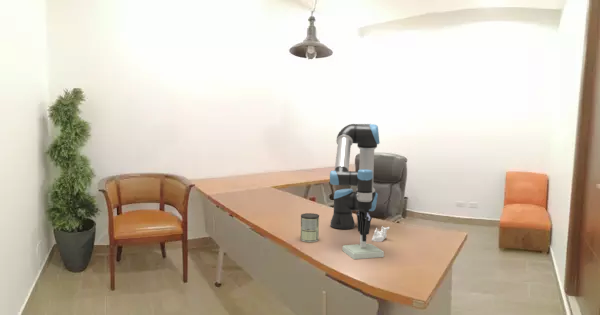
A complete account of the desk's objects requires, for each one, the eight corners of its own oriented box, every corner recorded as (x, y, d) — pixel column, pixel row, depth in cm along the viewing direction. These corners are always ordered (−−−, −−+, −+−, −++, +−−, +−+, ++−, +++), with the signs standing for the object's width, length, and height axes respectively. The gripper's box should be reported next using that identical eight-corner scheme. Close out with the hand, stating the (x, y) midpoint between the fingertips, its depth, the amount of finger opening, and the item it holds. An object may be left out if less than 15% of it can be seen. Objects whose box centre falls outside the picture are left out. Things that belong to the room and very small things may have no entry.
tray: (342, 250, 206) (342, 245, 206) (370, 248, 210) (370, 243, 210) (353, 259, 192) (354, 253, 192) (383, 256, 197) (383, 250, 197)
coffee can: (297, 238, 229) (298, 213, 228) (314, 236, 233) (314, 212, 232) (304, 242, 219) (304, 217, 218) (321, 241, 223) (322, 216, 222)
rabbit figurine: (385, 239, 231) (386, 222, 230) (394, 242, 224) (395, 225, 223) (368, 241, 225) (369, 224, 224) (377, 245, 218) (378, 227, 218)
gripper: (352, 198, 205) (350, 244, 206) (363, 203, 192) (361, 251, 194) (365, 198, 207) (364, 243, 209) (377, 202, 195) (375, 250, 196)
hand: (362, 247), depth 201 cm, fingers closed
